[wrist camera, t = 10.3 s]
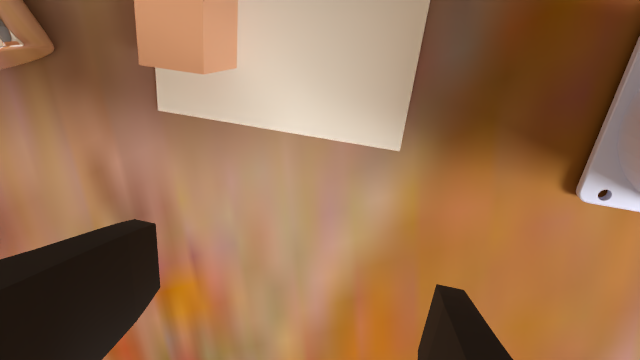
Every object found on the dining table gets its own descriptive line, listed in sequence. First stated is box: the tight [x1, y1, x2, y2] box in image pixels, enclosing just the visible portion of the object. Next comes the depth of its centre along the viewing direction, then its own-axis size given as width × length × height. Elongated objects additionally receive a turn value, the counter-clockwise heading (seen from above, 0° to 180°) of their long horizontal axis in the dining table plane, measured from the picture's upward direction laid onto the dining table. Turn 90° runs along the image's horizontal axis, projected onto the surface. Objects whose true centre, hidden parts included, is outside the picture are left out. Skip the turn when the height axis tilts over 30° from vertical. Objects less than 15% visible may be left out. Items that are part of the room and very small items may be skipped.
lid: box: [134, 0, 430, 151], centre depth 16 cm, size 13×10×4 cm
